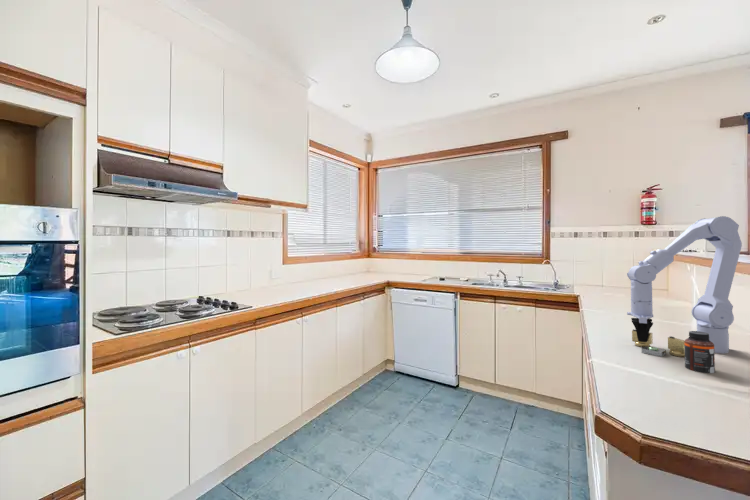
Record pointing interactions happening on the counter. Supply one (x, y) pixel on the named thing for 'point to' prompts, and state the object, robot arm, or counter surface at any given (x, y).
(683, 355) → the knob
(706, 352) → the supplement bottle
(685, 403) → the counter surface
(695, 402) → the counter surface
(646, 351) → the instrument base
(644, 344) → the knob
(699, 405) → the counter surface
